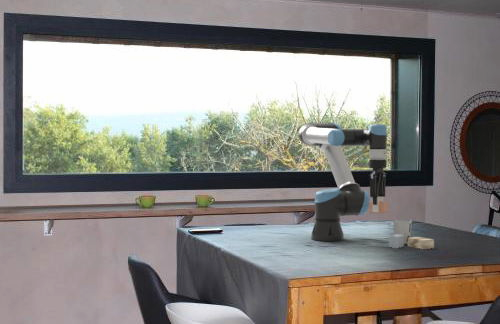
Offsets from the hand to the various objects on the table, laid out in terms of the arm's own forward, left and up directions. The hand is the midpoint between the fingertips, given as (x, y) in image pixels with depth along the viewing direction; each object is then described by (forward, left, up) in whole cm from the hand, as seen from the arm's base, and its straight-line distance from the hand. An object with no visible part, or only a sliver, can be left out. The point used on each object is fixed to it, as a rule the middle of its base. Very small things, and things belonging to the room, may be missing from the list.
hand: (377, 211), depth 299 cm
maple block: (+19, +2, -15) cm, 24 cm away
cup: (+8, +9, -15) cm, 19 cm away
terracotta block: (0, 0, -1) cm, 1 cm away
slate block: (+10, -3, -15) cm, 18 cm away
